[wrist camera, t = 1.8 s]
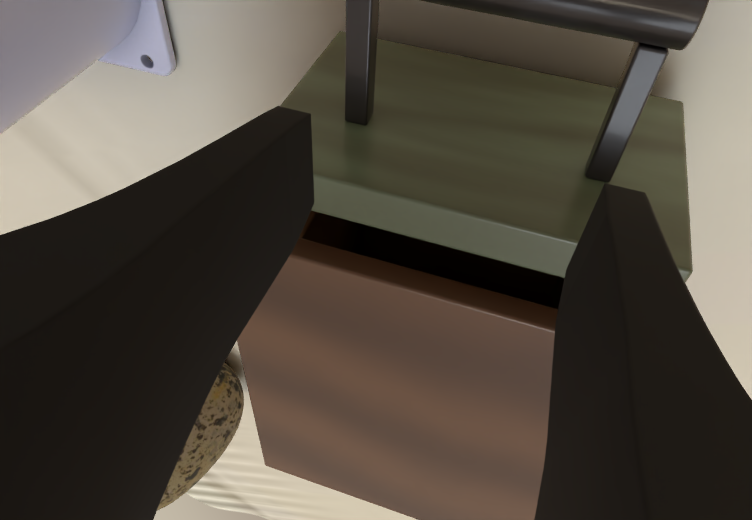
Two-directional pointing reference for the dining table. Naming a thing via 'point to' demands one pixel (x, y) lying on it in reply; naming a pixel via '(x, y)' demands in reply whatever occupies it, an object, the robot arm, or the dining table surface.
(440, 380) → the cabinet
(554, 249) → the drawer
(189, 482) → the decorative egg
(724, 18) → the dining table surface
